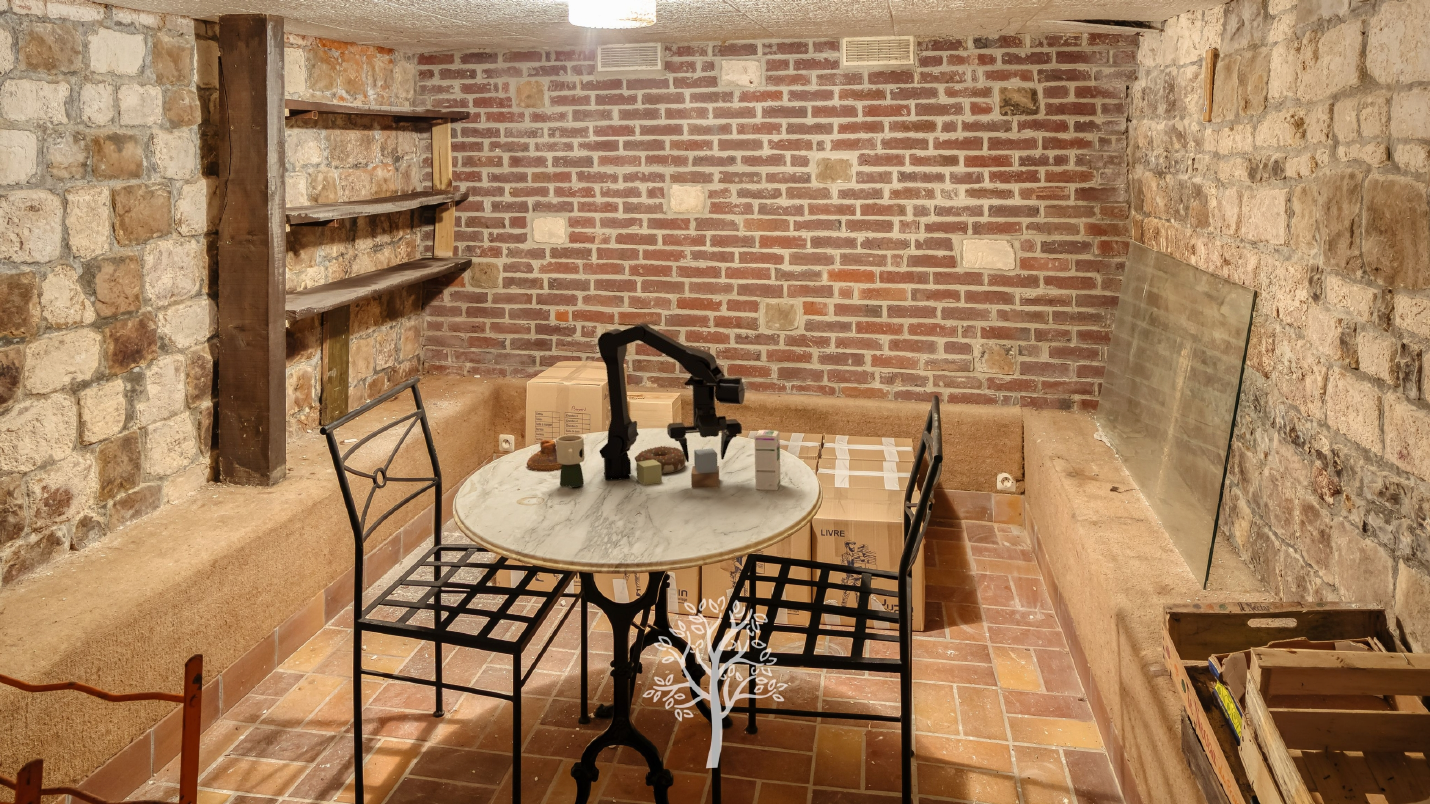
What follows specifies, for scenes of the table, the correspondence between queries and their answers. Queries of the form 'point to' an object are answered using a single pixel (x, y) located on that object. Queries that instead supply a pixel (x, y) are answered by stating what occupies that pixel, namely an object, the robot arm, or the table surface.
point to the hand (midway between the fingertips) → (705, 460)
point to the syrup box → (767, 459)
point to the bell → (545, 457)
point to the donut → (664, 458)
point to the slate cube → (705, 460)
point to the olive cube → (649, 472)
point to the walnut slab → (704, 479)
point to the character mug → (570, 459)
